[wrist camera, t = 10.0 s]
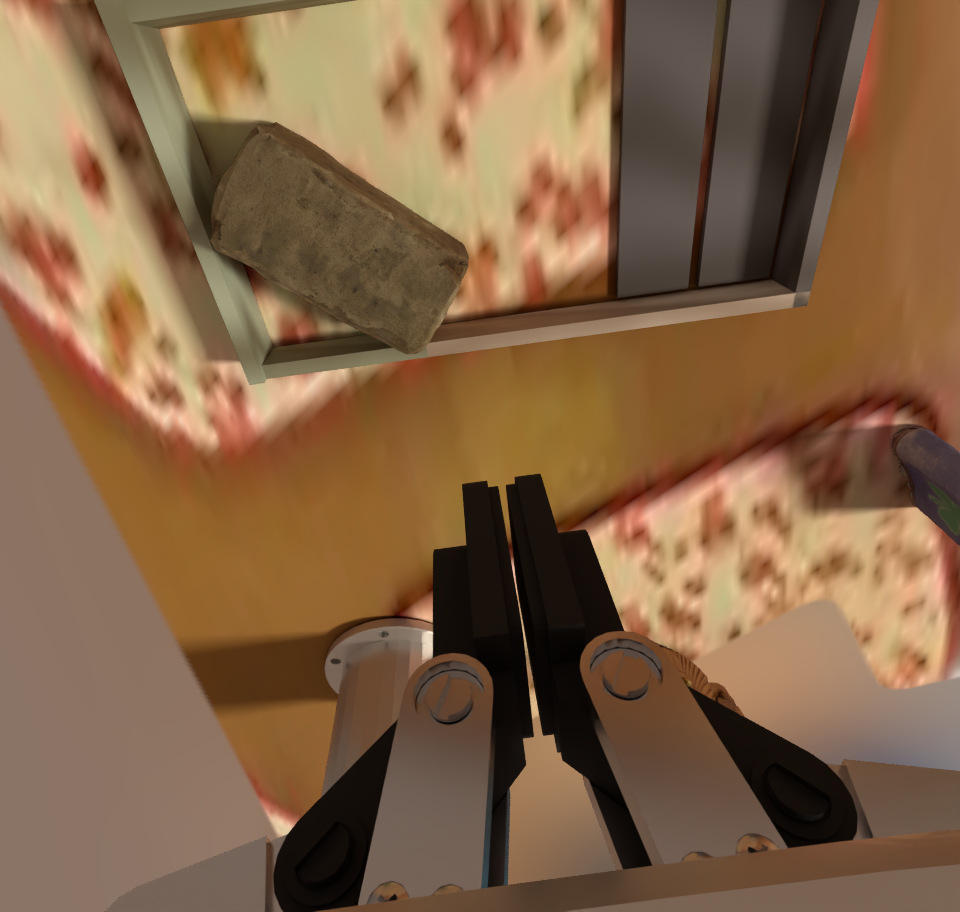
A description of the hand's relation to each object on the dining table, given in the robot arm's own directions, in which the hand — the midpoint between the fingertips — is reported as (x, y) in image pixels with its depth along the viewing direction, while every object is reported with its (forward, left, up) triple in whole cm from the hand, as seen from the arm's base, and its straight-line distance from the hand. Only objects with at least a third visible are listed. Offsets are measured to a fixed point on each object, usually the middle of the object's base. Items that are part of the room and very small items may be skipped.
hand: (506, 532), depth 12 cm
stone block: (+3, +6, -22) cm, 23 cm away
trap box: (+4, -3, -21) cm, 22 cm away
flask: (-19, -31, -22) cm, 42 cm away
